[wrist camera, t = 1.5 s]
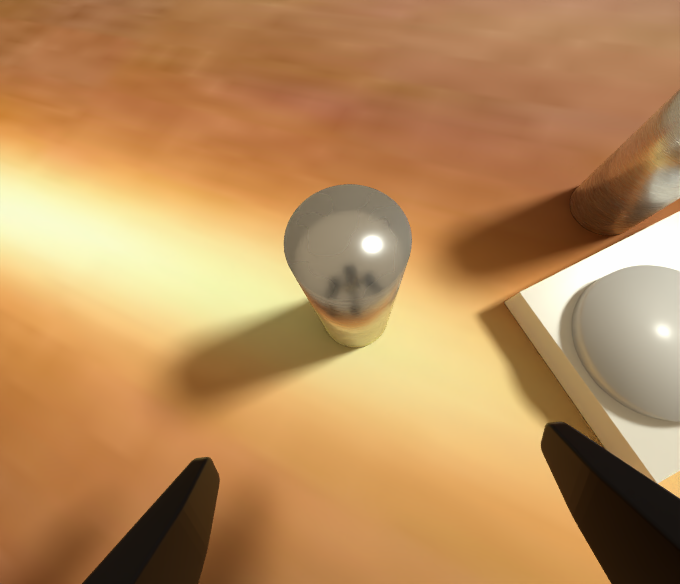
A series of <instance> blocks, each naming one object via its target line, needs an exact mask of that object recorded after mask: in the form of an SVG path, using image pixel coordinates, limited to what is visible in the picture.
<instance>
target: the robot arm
mask: <svg viewBox="0 0 680 584" xmlns="http://www.w3.org/2000/svg"><path fill="white" fill-rule="evenodd" d="M541 449H542V452H543V455H544V457H545V459H546V461H547V463H548V465H549V468H550V470H551V472H552V474H553V476H554V478H555V480H556V483H557V485H558V487H559V489H560V491H561V493H562V495H563V498H564V500H565V502H566V504H567V506H568V508H569V510H570V512H571V514H572V516H573V518H574V520H575V522H576V523H577V525H578V527H579V529H580V531H581V532H582V534H583V536H584V537H585V539H586V541H587V543H588V544H589V546H590V548H591V549H592V551H593V553H594V555H595V556H596V558H597V560H598V562H599V563H600V565H601V567H602V568H603V570H604V572H605V574H606V575H607V577H608V579H609V580H610V582H611V584H680V498H678V497H677V496H675V495H674V494H672V493H671V492H669V491H668V490H666V489H665V488H663V487H662V486H660V485H659V484H657V483H656V482H654V481H653V480H651V479H650V478H648V477H647V476H645V475H644V474H642V473H640V472H639V471H637V470H636V469H634V468H633V467H631V466H630V465H628V464H627V463H625V462H624V461H622V460H621V459H619V458H618V457H616V456H615V455H613V454H612V453H610V452H609V451H607V450H606V449H604V448H603V447H601V446H600V445H598V444H597V443H595V442H594V441H592V440H591V439H589V438H588V437H586V436H585V435H583V434H582V433H580V432H579V431H577V430H576V429H574V428H573V427H571V426H570V425H568V424H566V423H564V422H553V423H547V424H546V425H545V429H544V433H543V437H542V441H541ZM219 482H220V479H219V474H218V472H217V470H216V468H215V466H214V463H213V461H212V459H211V458H209V457H202V458H196V459H194V460H193V461H191V462H190V464H189V465H188V466H187V467H186V468H185V469H184V470H183V471H182V472H181V474H180V475H179V476H178V477H177V478H176V479H175V480H174V481H173V483H172V484H171V485H170V486H169V487H168V488H167V489H166V490H165V491H164V493H163V494H162V495H161V496H160V497H159V498H158V499H157V500H156V502H155V503H154V504H153V505H152V506H151V507H150V508H149V509H148V510H147V512H146V513H145V514H144V515H143V516H142V517H141V518H140V519H139V521H138V522H137V523H136V524H135V525H134V526H133V527H132V528H131V529H130V531H129V532H128V533H127V534H126V535H125V536H124V537H123V538H122V540H121V541H120V542H119V543H118V544H117V545H116V546H115V547H114V548H113V550H112V551H111V552H110V553H109V554H108V555H107V556H106V557H105V558H104V560H103V561H102V562H101V563H100V564H99V565H98V566H97V567H96V569H95V570H94V571H93V572H92V573H91V574H90V575H89V576H88V577H87V579H86V580H85V581H84V582H83V583H82V584H198V583H199V579H200V575H201V572H202V568H203V564H204V561H205V557H206V553H207V549H208V544H209V539H210V534H211V528H212V523H213V517H214V511H215V506H216V500H217V495H218V489H219Z"/></svg>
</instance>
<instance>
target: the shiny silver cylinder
mask: <svg viewBox="0 0 680 584" xmlns="http://www.w3.org/2000/svg"><path fill="white" fill-rule="evenodd" d="M411 245H412V235H411V229H410V225H409V222H408V220H407V218H406V216H405V214H404V212H403V211H402V209H401V208H400V207H399V205H398V204H397V203H396V202H395V201H394V200H392V199H391V198H390V197H389V196H387V195H385V194H384V193H382V192H380V191H378V190H376V189H373V188H370V187H367V186H362V185H353V184H347V185H337V186H333V187H329V188H326V189H323V190H321V191H319V192H317V193H315V194H313V195H312V196H310V197H309V198H307V199H306V200H305V201H304V202H303V203H302V204H301V205H300V206H299V207H298V208H297V209H296V210H295V212H294V213H293V215H292V216H291V218H290V220H289V222H288V225H287V227H286V231H285V236H284V252H285V257H286V260H287V263H288V265H289V267H290V269H291V271H292V273H293V274H294V276H295V278H296V279H297V281H298V283H299V285H300V286H301V288H302V290H303V291H304V293H305V295H306V296H307V298H308V300H309V302H310V303H311V305H312V307H313V308H314V310H315V312H316V313H317V315H318V317H319V319H320V320H321V322H322V324H323V325H324V327H325V329H326V330H327V332H328V334H329V335H330V336H331V337H332V338H333V339H334V340H335V341H336V342H338V343H340V344H342V345H344V346H347V347H363V346H367V345H369V344H371V343H373V342H374V341H376V340H377V339H378V338H379V337H380V336H381V335H382V333H383V332H384V330H385V328H386V325H387V322H388V319H389V316H390V313H391V310H392V307H393V304H394V301H395V298H396V295H397V292H398V289H399V286H400V283H401V280H402V277H403V274H404V271H405V268H406V265H407V262H408V259H409V256H410V252H411Z"/></svg>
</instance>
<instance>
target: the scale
mask: <svg viewBox="0 0 680 584" xmlns="http://www.w3.org/2000/svg"><path fill="white" fill-rule="evenodd" d="M504 303H505V304H506V306H507V307H508V309H509V310H510V312H511V313H512V315H513V316H514V317H515V319H516V320H517V322H518V323H519V325H520V326H521V328H522V329H523V330H524V332H525V333H526V335H527V336H528V338H529V339H530V341H531V342H532V343H533V345H534V346H535V348H536V349H537V351H538V352H539V354H540V355H541V356H542V358H543V359H544V361H545V362H546V364H547V365H548V367H549V368H550V369H551V371H552V372H553V374H554V375H555V377H556V378H557V380H558V381H559V382H560V384H561V385H562V387H563V388H564V390H565V391H566V393H567V394H568V395H569V397H570V398H571V400H572V401H573V403H574V404H575V405H576V407H577V408H578V410H579V411H580V413H581V414H582V416H583V417H584V418H585V420H586V421H587V423H588V424H589V426H590V427H591V429H592V430H593V431H594V433H595V434H596V436H597V437H598V439H599V440H600V442H601V443H602V444H603V446H604V447H605V449H606V450H607V451H609V452H610V453H612V454H613V455H615V456H616V457H618V458H619V459H621V460H622V461H624V462H625V463H627V464H628V465H630V466H631V467H633V468H634V469H636V470H637V471H639V472H640V473H642V474H644V475H645V476H647V477H648V478H650V479H651V480H653V481H654V482H656V483H657V484H658V483H659V482H661V481H663V480H664V479H666V478H668V477H670V476H671V475H673V474H675V473H677V472H678V471H680V211H679V212H677V213H675V214H673V215H671V216H669V217H667V218H665V219H663V220H661V221H659V222H657V223H656V224H654V225H652V226H650V227H648V228H646V229H644V230H642V231H640V232H638V233H636V234H634V235H632V236H630V237H628V238H626V239H624V240H622V241H620V242H618V243H616V244H614V245H612V246H610V247H608V248H606V249H604V250H602V251H600V252H598V253H596V254H594V255H592V256H590V257H588V258H586V259H584V260H582V261H580V262H578V263H576V264H574V265H572V266H570V267H568V268H566V269H564V270H562V271H560V272H558V273H556V274H554V275H553V276H551V277H549V278H547V279H545V280H543V281H541V282H539V283H537V284H535V285H533V286H531V287H529V288H527V289H525V290H523V291H521V292H519V293H518V294H516V295H514V296H513V297H511V298H510V299H508V300H507V301H505V302H504Z"/></svg>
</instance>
